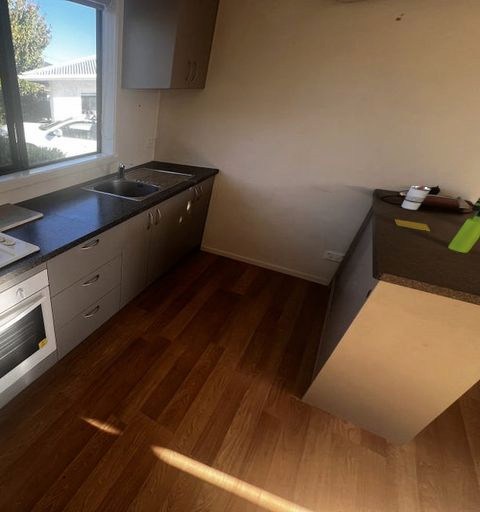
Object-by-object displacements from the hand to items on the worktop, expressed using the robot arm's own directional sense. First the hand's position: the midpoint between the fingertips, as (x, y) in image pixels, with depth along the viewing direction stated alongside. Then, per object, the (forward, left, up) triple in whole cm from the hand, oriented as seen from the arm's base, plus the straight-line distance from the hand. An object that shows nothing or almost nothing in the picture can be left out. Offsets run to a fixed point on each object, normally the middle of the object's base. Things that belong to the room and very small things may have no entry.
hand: (479, 213), depth 116 cm
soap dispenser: (0, 0, -16) cm, 16 cm away
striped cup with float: (+13, -59, -16) cm, 63 cm away
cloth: (+13, -24, -16) cm, 32 cm away
